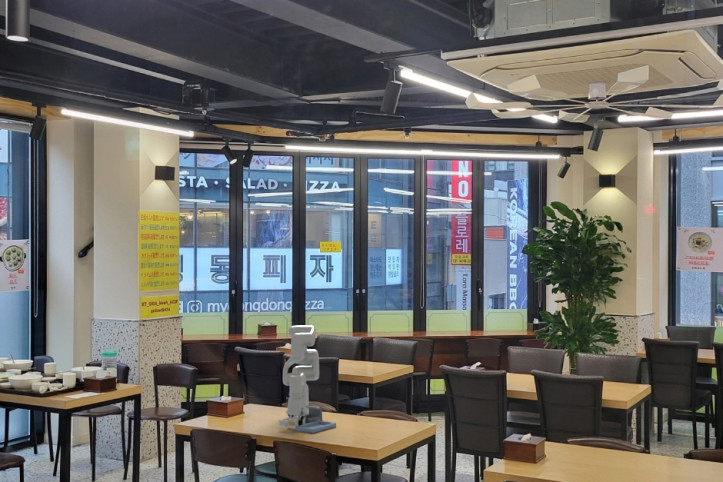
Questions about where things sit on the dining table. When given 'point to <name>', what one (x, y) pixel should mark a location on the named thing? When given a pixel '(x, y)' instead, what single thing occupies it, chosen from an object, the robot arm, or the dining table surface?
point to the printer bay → (313, 414)
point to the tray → (315, 426)
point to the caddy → (291, 422)
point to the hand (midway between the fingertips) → (296, 425)
